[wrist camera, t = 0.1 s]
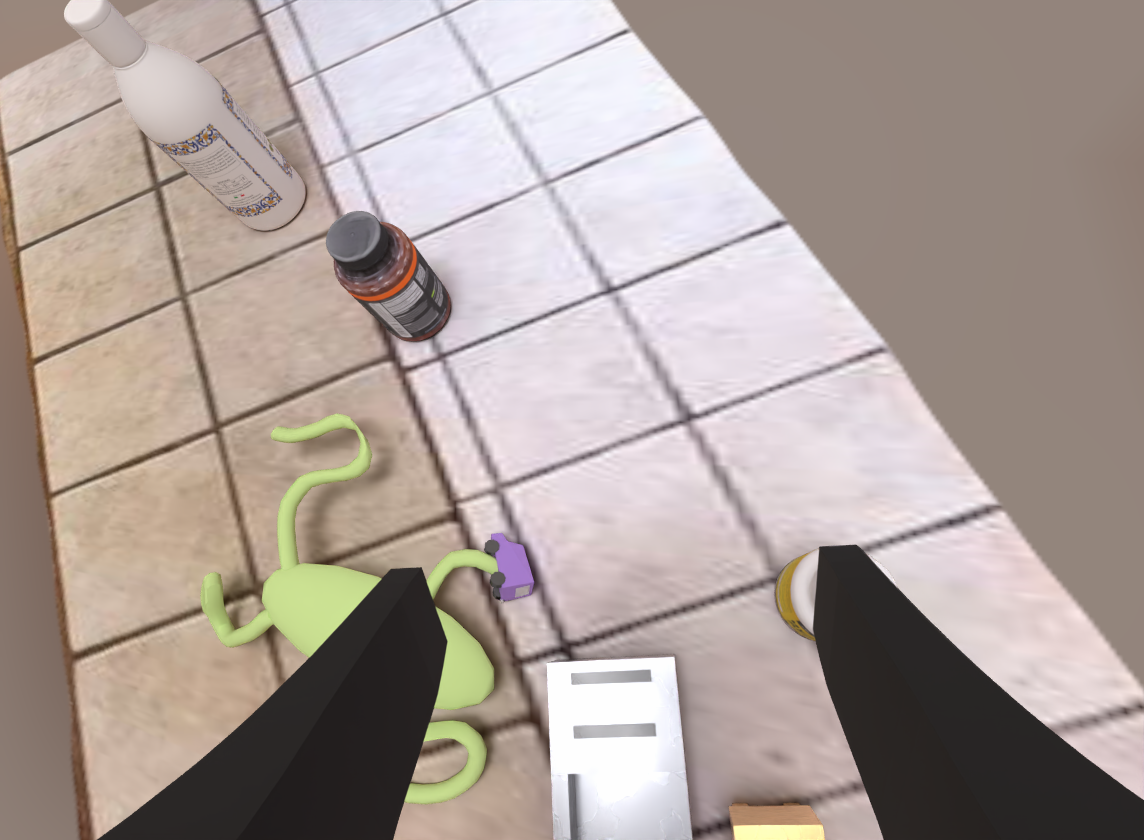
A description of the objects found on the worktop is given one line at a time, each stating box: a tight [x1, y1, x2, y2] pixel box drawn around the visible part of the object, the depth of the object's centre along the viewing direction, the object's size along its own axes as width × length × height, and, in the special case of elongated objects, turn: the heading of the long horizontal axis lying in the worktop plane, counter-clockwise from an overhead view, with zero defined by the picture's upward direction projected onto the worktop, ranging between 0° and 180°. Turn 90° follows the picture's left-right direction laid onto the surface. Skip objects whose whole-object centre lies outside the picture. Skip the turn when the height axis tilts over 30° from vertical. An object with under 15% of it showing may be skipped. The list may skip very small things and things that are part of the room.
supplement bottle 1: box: [326, 211, 450, 341], centre depth 46 cm, size 6×6×11 cm
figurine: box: [200, 414, 534, 804], centre depth 43 cm, size 18×27×6 cm
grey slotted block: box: [547, 654, 693, 840], centre depth 37 cm, size 18×8×3 cm, turn 3°
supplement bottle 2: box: [775, 545, 898, 641], centre depth 35 cm, size 5×5×10 cm
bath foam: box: [64, 0, 305, 231], centre depth 49 cm, size 7×7×20 cm
